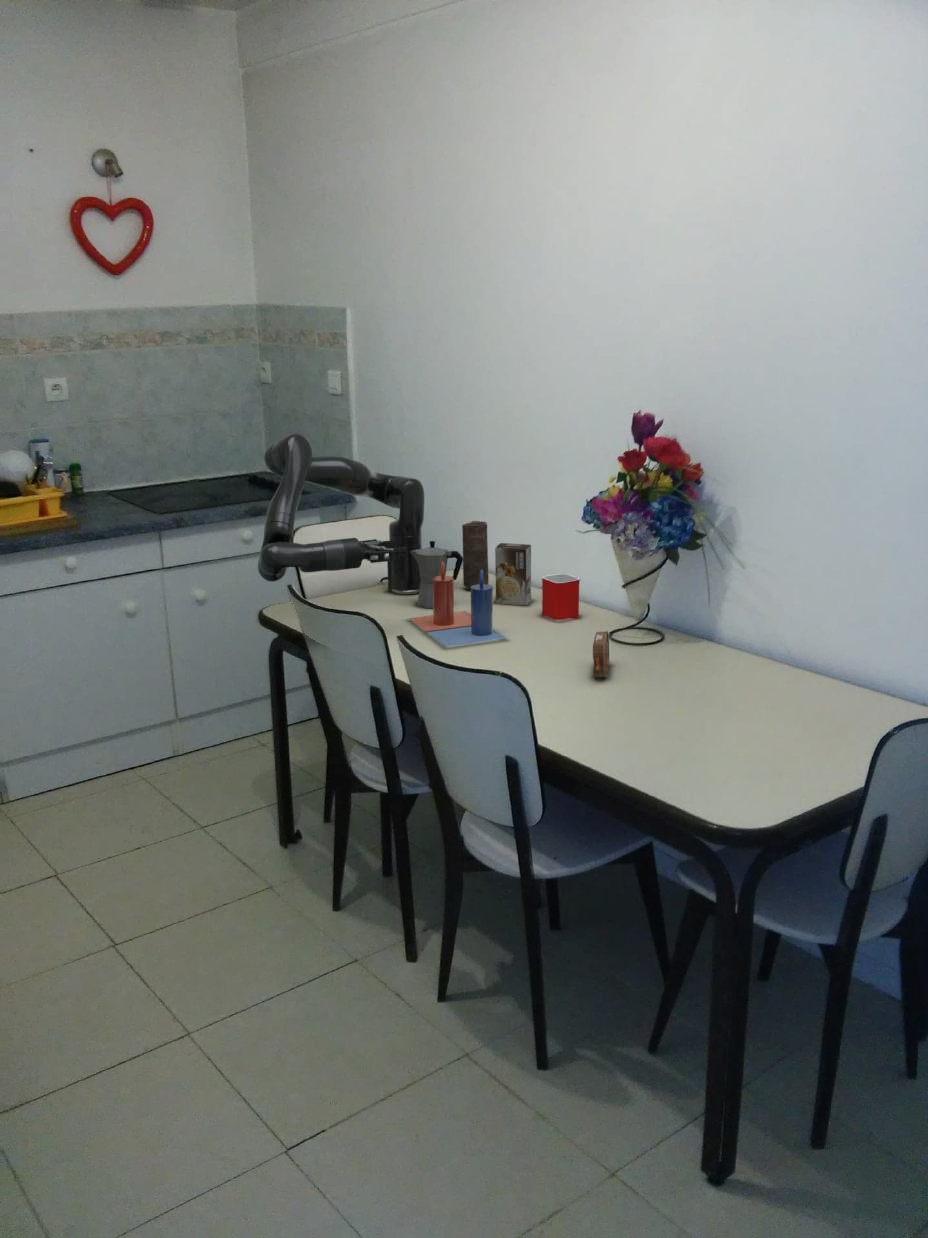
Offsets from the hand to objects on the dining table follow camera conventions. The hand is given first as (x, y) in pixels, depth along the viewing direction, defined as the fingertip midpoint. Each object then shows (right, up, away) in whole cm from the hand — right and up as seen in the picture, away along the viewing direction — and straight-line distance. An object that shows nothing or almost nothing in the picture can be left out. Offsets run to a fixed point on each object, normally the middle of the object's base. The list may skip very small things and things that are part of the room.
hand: (401, 547), depth 268 cm
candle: (+19, -9, +44) cm, 49 cm away
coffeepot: (+8, -14, +29) cm, 33 cm away
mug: (+40, -17, +18) cm, 47 cm away
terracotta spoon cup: (+10, -19, +10) cm, 24 cm away
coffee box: (+29, -13, +31) cm, 44 cm away
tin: (+47, -30, -25) cm, 61 cm away
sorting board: (+13, -21, +6) cm, 25 cm away
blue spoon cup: (+20, -21, +2) cm, 29 cm away
